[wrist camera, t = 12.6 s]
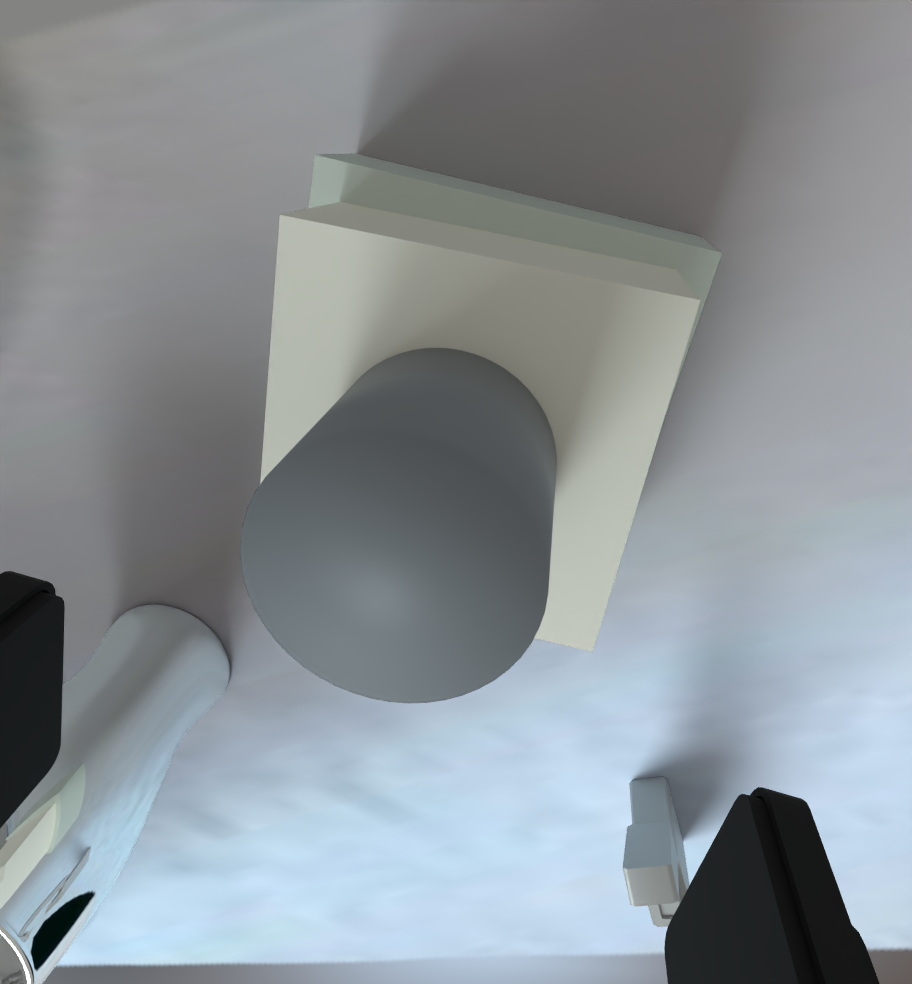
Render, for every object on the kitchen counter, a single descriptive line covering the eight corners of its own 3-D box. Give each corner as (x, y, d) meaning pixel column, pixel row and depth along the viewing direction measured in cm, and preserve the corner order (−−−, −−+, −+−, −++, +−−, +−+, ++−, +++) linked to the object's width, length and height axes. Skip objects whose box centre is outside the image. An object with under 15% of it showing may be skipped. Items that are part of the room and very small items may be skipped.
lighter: (683, 842, 37) (708, 1012, 29) (646, 845, 37) (662, 1014, 30) (653, 724, 34) (673, 879, 27) (614, 729, 35) (623, 883, 27)
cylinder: (529, 583, 21) (512, 732, 16) (319, 535, 22) (232, 665, 16) (582, 375, 19) (583, 468, 13) (342, 325, 19) (249, 395, 14)
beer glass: (80, 666, 38) (-200, 955, 24) (133, 567, 35) (-152, 834, 21) (203, 739, 39) (-2, 1060, 25) (264, 649, 36) (71, 956, 22)
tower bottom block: (597, 536, 31) (600, 602, 27) (314, 463, 32) (270, 515, 27) (698, 234, 26) (722, 252, 22) (359, 153, 27) (314, 154, 22)
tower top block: (590, 565, 26) (592, 651, 22) (308, 501, 27) (253, 572, 22) (676, 269, 22) (700, 300, 18) (339, 201, 23) (279, 214, 18)
